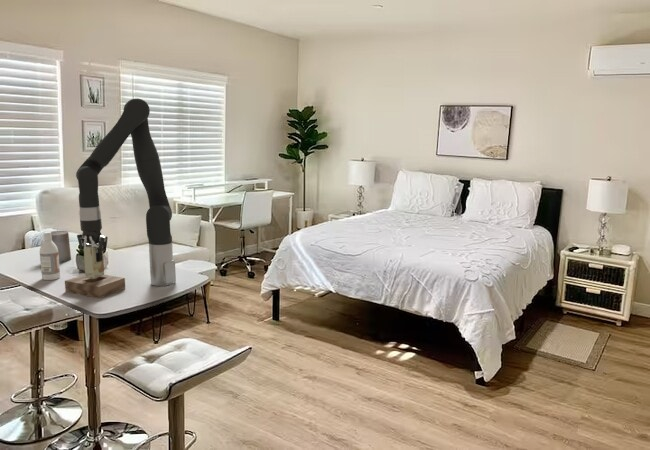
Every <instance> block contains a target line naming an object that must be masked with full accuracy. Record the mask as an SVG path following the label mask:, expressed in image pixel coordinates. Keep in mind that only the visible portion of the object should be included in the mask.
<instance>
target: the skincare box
mask: <svg viewBox="0 0 650 450" xmlns="http://www.w3.org/2000/svg"><path fill="white" fill-rule="evenodd" d="M98 249H99V247H98ZM83 257H84V259H83V260H84V275H85V278H92V279H95V278H98V277H100V276H103V275H105V266H104V265H105V264H104V260H105V259H104V251H103V252H102V257H103V259H102V261H101V262H97V261H96V250H95V248H94V247H93V245H92V246H88V247H85V248H84V250H83Z"/></svg>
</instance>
